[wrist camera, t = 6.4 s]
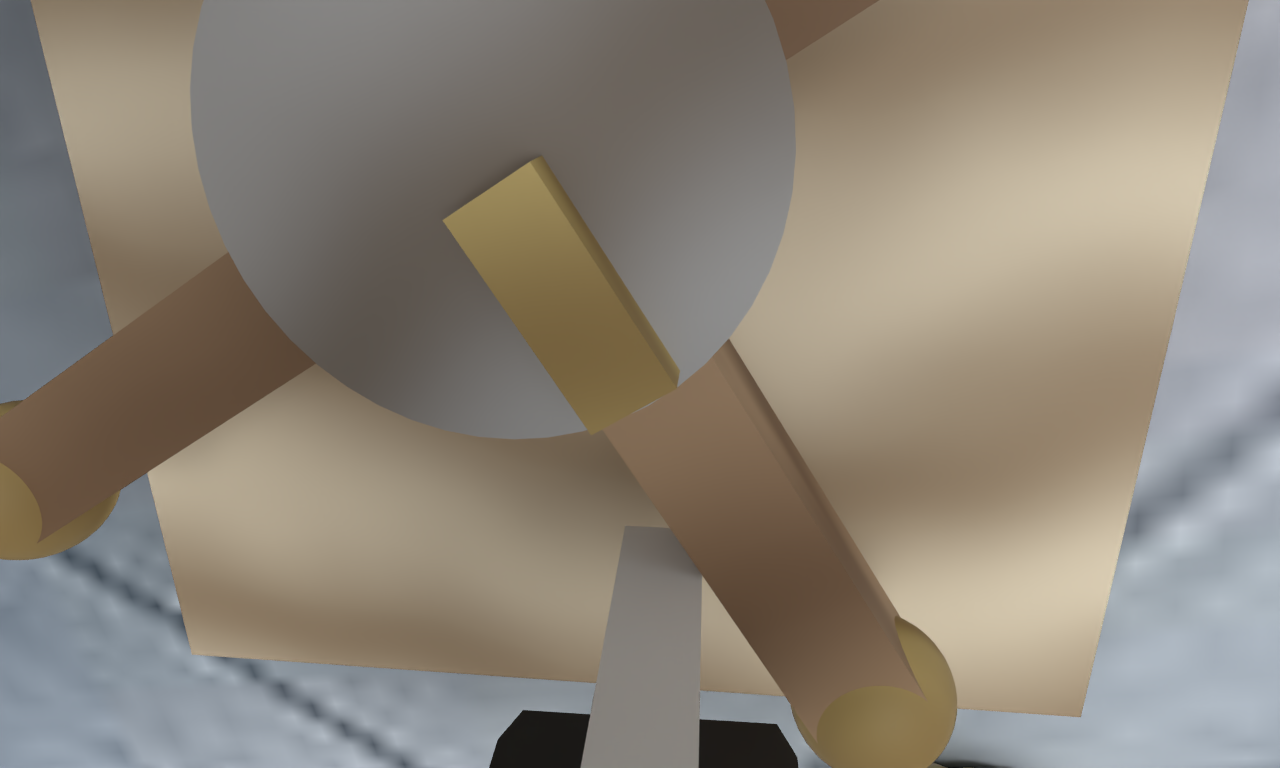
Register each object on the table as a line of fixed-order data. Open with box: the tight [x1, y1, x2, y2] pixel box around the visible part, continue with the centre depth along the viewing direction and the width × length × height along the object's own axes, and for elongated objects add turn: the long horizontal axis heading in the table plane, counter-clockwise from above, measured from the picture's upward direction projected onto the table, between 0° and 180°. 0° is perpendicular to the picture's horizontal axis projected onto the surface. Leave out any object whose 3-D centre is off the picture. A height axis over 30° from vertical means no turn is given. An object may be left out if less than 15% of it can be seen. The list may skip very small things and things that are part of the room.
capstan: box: [0, 0, 957, 768], centre depth 12 cm, size 23×23×6 cm
